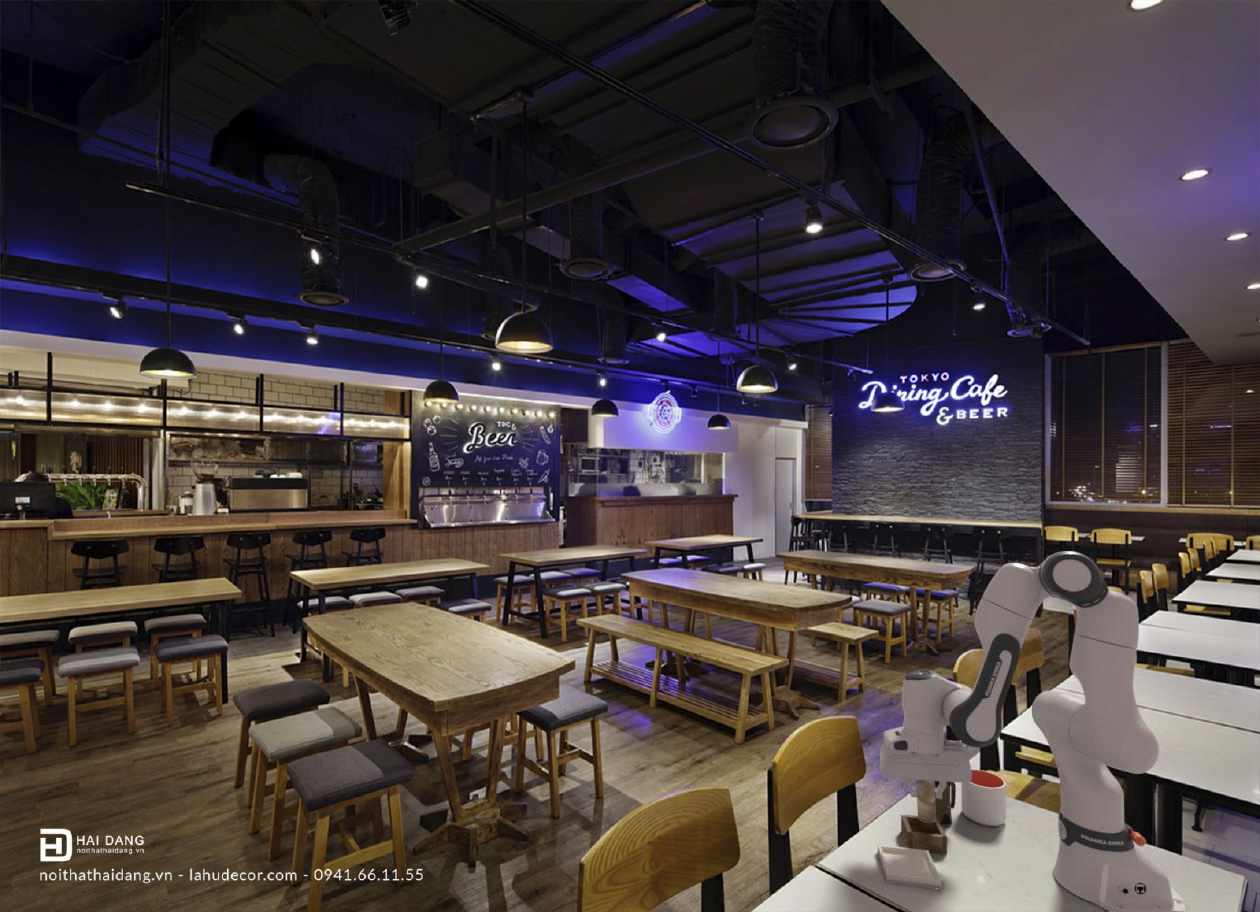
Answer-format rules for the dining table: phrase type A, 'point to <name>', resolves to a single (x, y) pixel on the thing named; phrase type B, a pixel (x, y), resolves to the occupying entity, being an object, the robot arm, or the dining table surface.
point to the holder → (923, 835)
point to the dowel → (926, 801)
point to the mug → (945, 804)
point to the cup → (984, 798)
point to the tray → (909, 867)
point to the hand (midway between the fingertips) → (925, 797)
